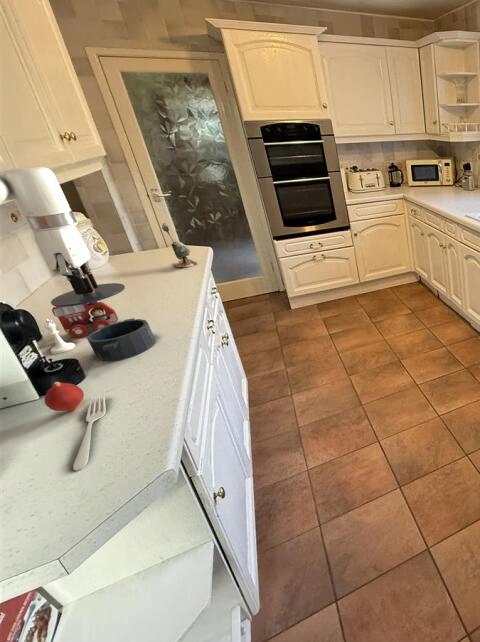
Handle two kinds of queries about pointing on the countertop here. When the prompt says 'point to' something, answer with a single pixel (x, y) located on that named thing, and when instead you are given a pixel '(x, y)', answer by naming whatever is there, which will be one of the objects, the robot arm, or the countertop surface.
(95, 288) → the robot arm
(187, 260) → the plant with pod
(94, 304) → the toy fire truck
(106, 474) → the countertop surface
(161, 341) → the countertop surface
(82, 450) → the fork
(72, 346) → the chess piece
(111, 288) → the lid
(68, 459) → the countertop surface
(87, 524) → the countertop surface
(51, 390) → the onion
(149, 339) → the pan
